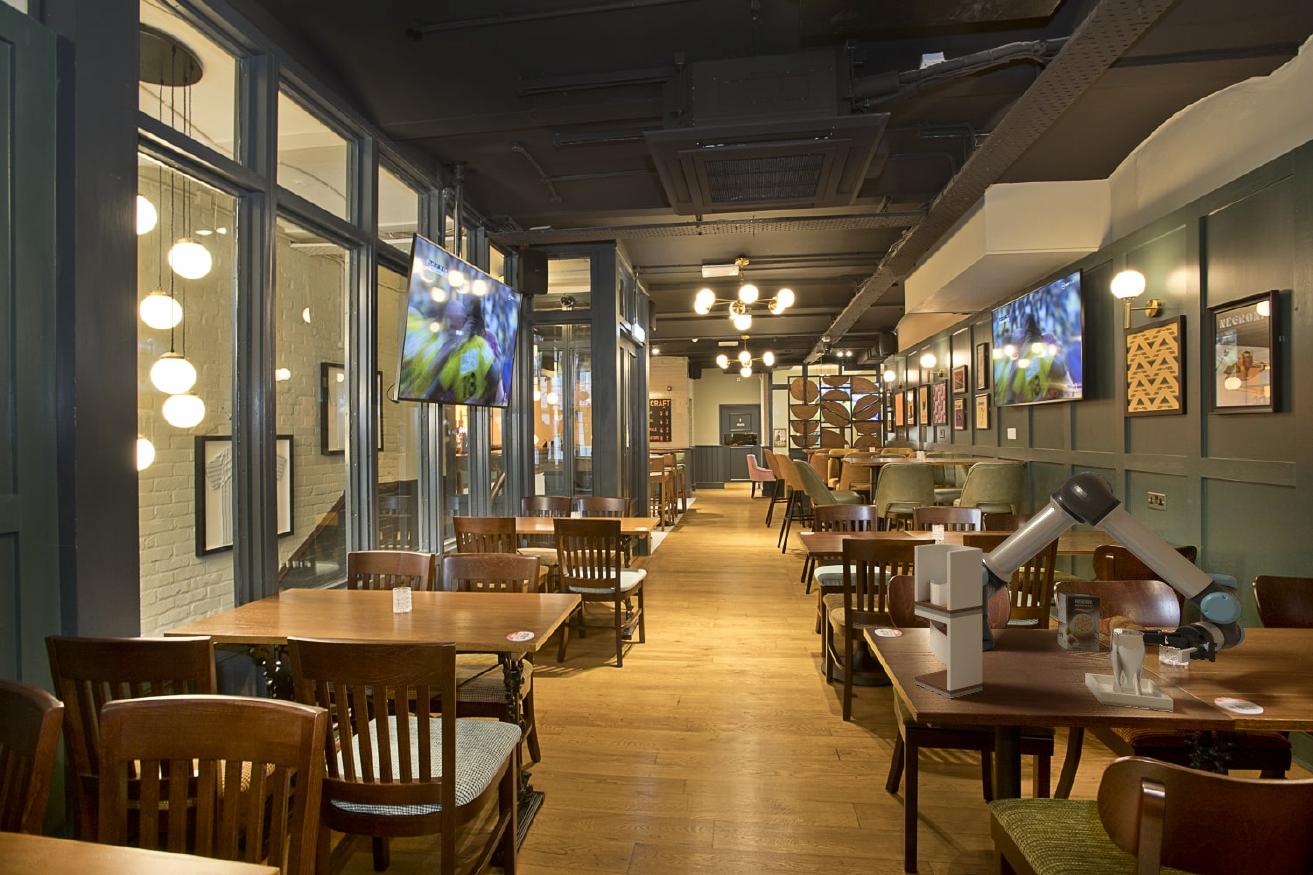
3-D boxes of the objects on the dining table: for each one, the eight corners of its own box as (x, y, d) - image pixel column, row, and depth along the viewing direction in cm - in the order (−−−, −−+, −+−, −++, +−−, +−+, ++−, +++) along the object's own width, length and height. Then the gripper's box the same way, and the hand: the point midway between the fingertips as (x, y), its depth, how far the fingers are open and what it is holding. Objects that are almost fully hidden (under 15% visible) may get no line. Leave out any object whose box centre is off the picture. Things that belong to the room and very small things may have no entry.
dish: (1101, 704, 157) (1101, 692, 157) (1085, 683, 170) (1085, 672, 170) (1173, 712, 152) (1173, 700, 152) (1151, 690, 165) (1151, 679, 165)
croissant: (1163, 658, 201) (1172, 633, 202) (1142, 645, 199) (1152, 620, 200) (1097, 637, 222) (1106, 614, 223) (1077, 625, 219) (1086, 602, 220)
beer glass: (1151, 700, 157) (1151, 636, 157) (1118, 698, 158) (1118, 634, 158) (1136, 689, 164) (1136, 628, 164) (1104, 687, 165) (1104, 626, 165)
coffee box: (1066, 650, 198) (1066, 595, 198) (1057, 643, 204) (1057, 590, 204) (1100, 651, 196) (1100, 597, 196) (1090, 645, 202) (1090, 592, 202)
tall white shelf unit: (946, 677, 174) (946, 542, 174) (982, 691, 165) (982, 548, 165) (914, 684, 169) (914, 546, 169) (950, 699, 160) (950, 552, 160)
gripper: (1257, 667, 162) (1207, 680, 153) (1145, 640, 185) (1097, 649, 176) (1257, 636, 162) (1207, 647, 153) (1145, 612, 185) (1097, 621, 176)
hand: (1148, 648), depth 165 cm, fingers open, 13 cm apart
